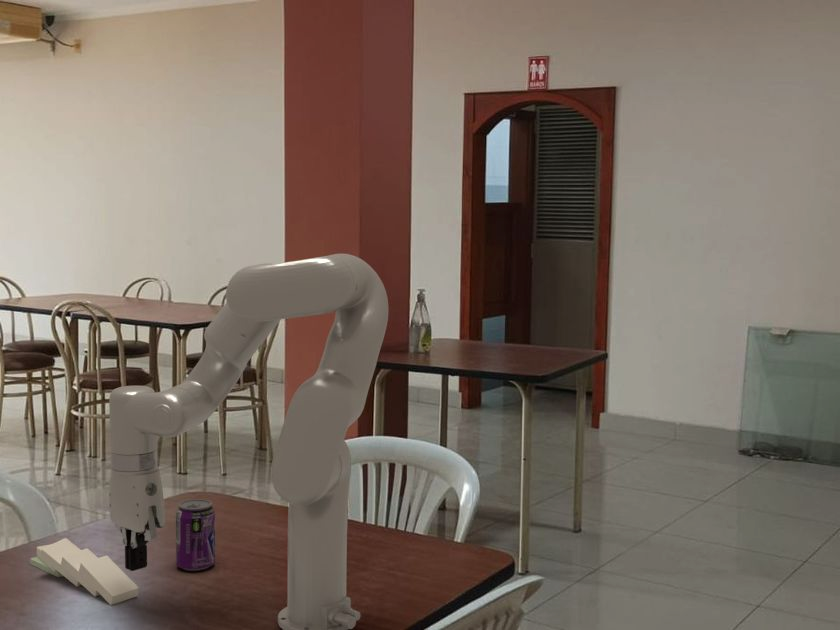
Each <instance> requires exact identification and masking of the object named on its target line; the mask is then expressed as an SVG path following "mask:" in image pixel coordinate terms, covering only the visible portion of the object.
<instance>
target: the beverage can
mask: <svg viewBox="0 0 840 630" xmlns="http://www.w3.org/2000/svg"><path fill="white" fill-rule="evenodd" d="M177 506H178V509H177V510H176V513H175V565H176V567H178V568H180V569H183V570H184V571H189V572H197V571H198V572H199V571H200V572H201V571H204V570H207V569H208V568H209V567H211V566H214V565H215V563H216V512H215V510H214V507H213V502H212V501H211V500H209V499H204V498H201V499H200V498H199V499H198V498H197V499H195V498H194V499H186V500H183V501H181V502H179V503H178V505H177Z"/></svg>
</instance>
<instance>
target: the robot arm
mask: <svg viewBox="0 0 840 630" xmlns="http://www.w3.org/2000/svg"><path fill="white" fill-rule="evenodd" d="M225 299H226V303H225V304H224V305H223V306H222V307H221V309H220V310H219V312H218V313H217V314H216V315H215V316H214V318H213V319H212V321H211V322H210V323H209V324H208V326H207V327H206V328H205V331H204V335H203V339H204V340H205V349H204V352H203V354H202V356H201V357H200V358H199V360H198V362H197V363H196V365H195V366H193V367H194V368H192V370H191V371H190V372H189V374H188V375H187V376H186V377H185V379H183V381H182V382H181V383H180V384H177V385H175V386H172V387H170V388H168V389H165V390H161V391H157V392H155V390H154V388H152V387H150V386H145V385H125V386H119V387H117V388H114V389H113V390H111V391H110V395H109V398H108V399H109V402H108V403H109V404H108V405H109V406H108V407H109V408H108V409H109V410H108V411H109V447H110V449H109V450H110V478H109V492H108V493H109V495H108V503H109V504H108V505H109V506H108V507H109V508H108V509H109V510H108V511H109V519H110V520H111V522H112V523H114V527H115V528H117V530H118V531H120V533H121V539H122V543H123V545H124V563H125V564H124V566H125V567H124V568H125V569H126V570H128V571H131V572H133V571H137V570H141V569H143V568H147V566H148V547H147V546H148V545H149V543H150V541H152V540H157V538H158V533H157V529H162V528H164V527H165V523H166V520H165V519H166V516H165V512H166V511H165V501H164V500H165V499H164V489H163V485H162V484H163V483H162V478H161V474H160V470H158V469H159V468H158V465H159V464H158V437H161V438H174V437H179V436H181V435H183V434H184V433H186V432H189V431H190V430H191V429H194V428H195V427H197V426H199V425H201V424H203V423H204V422H206V421H207V420H208V419H209V418H210V417H211V416H212V415H213V414H214V413H215V411H216V410H217V409H218V408H219V406H220V405H221V404H222V403H223V402H224V400H225V399H226V398H227V397H228V395H229V394H230V392H231V391H232V389H234V387H235V386H236V384H237V383H238V381H239V379H240V377H241V376H242V374H243V372H244V371H245V369H246V367H247V364H248V362H249V361H250V360H251V358H252V357H253V356H254V354H255V353H256V352H257V351H258V349H259V348H260V347H261V345H263V343H264V342H265V341H266V339H267V338H268V337H269V336H270V334H271V333H272V332H273V330H274V329H275V328H276V327H277V326H278V324H279V323H280V321H282V320H287V319H295V318H301V317H311V316H316V315H325V314H330V313H334V312H335V315H334V321H333V324H332V325H331V329H330V331H329V333H328V336H327V338H326V343H325V347H324V349H323V353H322V356H321V359H320V362H319V365H318V368H317V370H316V371H315V373H314V375H313V376H311V377H310V378H308V379H306V380H305V381H303V383H301V385H300V386H299V387H298V388H297V389H296V391H295V392H294V394H293V396H292V398H291V399H290V402H289V405H288V408H287V411H286V415H285V417H284V421H283V424H282V428H281V431H280V434H279V438H278V441H277V444H276V447H275V451H274V454H273V457H272V461H271V466H270V467H271V469H270V479H271V483H272V487H273V490H274V491H275V493H276V494H277V495H278V497H280V499H282V500H283V501H284V502H286V503H288V509H287V510H288V513H287V514H288V515H287V606H286V607H284V608H282V609H281V610H280V611H279V613H278V615H277V624H278V627H279V628H281V629H282V630H352V629H354V627H355V626H356V624H357V621H359V620H360V618H361V612H360V611H358V610H356V609H353V608H352V607H351V606H352V605H351V604H352V603H351V602H352V600H351V597H349V596H347V564H348V563H347V559H348V555H347V553H348V552H347V545H348V511H349V510H348V508H349V493H350V485H351V484H350V483H351V475H352V457H351V456H352V455H351V451H350V448H349V446H348V444H347V442H346V441H345V437H346V435H347V431H348V429H349V428H350V426H351V425H353V424H355V422H356V421H357V420H358V418H360V417H361V415H362V413H363V411H364V409H365V405H366V402H367V397H368V393H369V390H370V386H371V383H372V379H373V376H374V373H375V370H376V367H377V363H378V359H379V358H378V357H379V355H380V351H381V348H382V346H383V342H384V337H385V335H386V334H385V333H386V331H387V326H388V321H389V302H388V301H389V299H388V294H387V291H386V288H385V286H384V283H383V281H382V279H381V278H380V276H379V275H378V273H377V272H376V271H375V269H373V268H372V267H371V265H370V264H368V263H367V262H366V261H365V260H364V259H361V258H360V257H359V256H355V255H352V254H349V253H335V254H329V255H325V256H317V257H312V258H311V257H310V258H305V259H299V260H292V261H286V262H285V261H284V262H279V263H270V262H269V263H259V264H253V265H248V266H244V267H243V268H241V269H239V270H238V271H236V272H235V273H234V274H233V275H232V277H231V278H230V280H229V281H228V283H227V287H226V291H225Z"/></svg>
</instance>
